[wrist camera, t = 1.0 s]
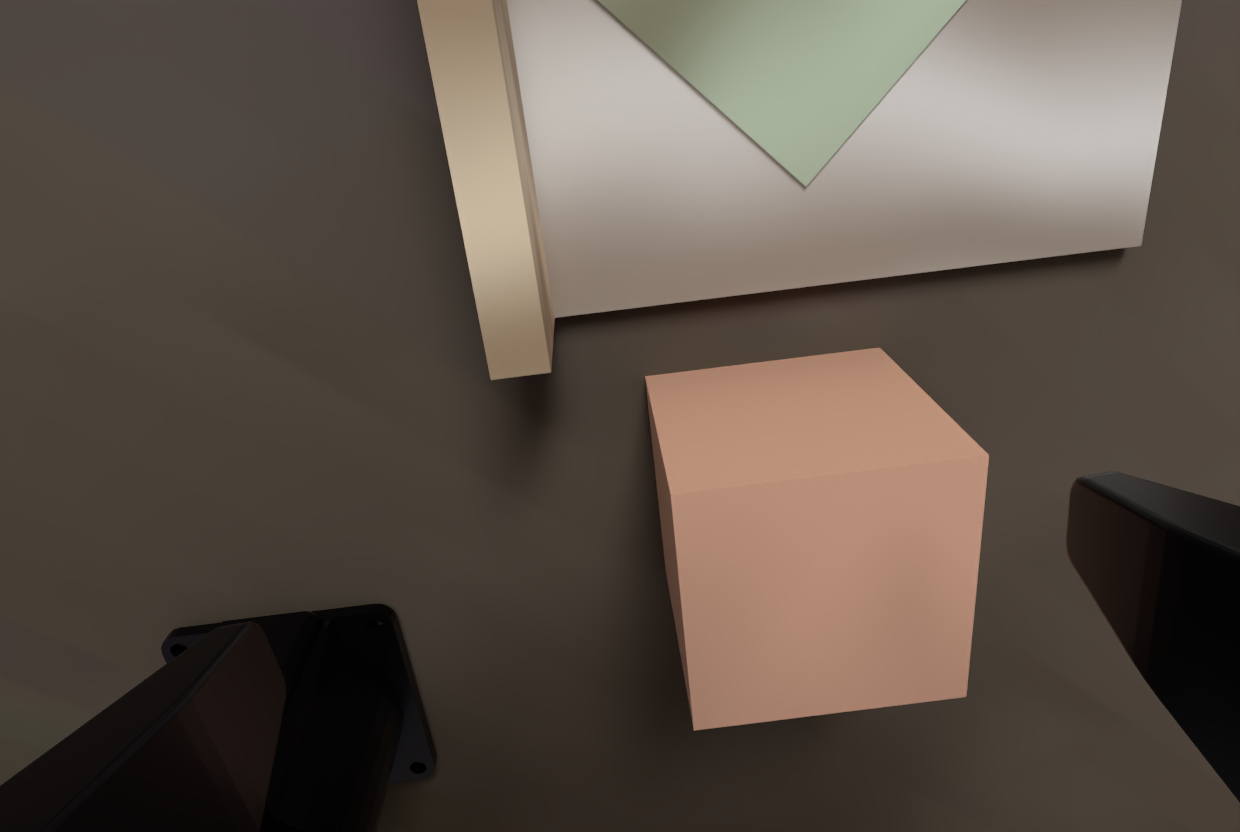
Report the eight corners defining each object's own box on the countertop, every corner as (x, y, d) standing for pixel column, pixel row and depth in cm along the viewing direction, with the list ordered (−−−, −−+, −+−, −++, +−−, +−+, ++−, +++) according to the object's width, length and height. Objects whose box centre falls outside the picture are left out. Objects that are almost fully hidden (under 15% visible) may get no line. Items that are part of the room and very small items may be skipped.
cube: (873, 547, 23) (966, 701, 18) (665, 572, 23) (694, 735, 18) (878, 346, 20) (988, 455, 15) (644, 375, 20) (670, 494, 15)
